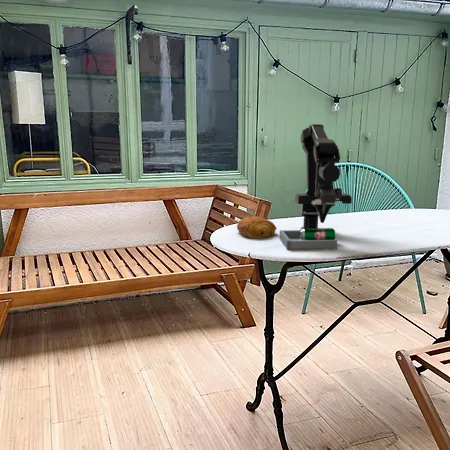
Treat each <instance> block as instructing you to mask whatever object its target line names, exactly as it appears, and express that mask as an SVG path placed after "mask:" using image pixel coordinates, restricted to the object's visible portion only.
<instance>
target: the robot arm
mask: <svg viewBox="0 0 450 450" xmlns="http://www.w3.org/2000/svg"><path fill="white" fill-rule="evenodd" d="M324 128H325V127H324V124H320V123H319V124H318V123H317V124H316V123H315V124H313V123H312V124H309V126H308V127H307V128H304V129H303V130H302V131H301V134H300V143H301V148H302V150H303V151H304V153H305V156H306V161H305V162H306V166H305V167H306V191H305V193H296V195H295V198H294V199H295V200H294V201H295V202H296V204H299V205H300V207H299V215H300V216H301V217H303V226H301V227H300V230H302V229H303V228H319V222H320V223H321V224H324V223H325V221H326V218H327V216H328V213H329V212H330V210H331V208H332V207H335V206H336V203H337V202H341V204H343V205H344V204H347V205H349V204H352V203H353V202H352V200H353V197H352V195H350V194H348V193H344V192H343V189H342V188H340V187H339V188H338V187H336V188H334V182H337V181H338V180H339V179H340V176H341V171H340V168H339V167H338V166H336V163H337V164H339V163H340V160H341V153H340V150H339V147H338V145H337V144H336V142H335V141H334V140H333V139H330V138H328V136H327V133H326V131H325V129H324Z"/></svg>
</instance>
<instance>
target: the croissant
mask: <svg viewBox="0 0 450 450" xmlns="http://www.w3.org/2000/svg"><path fill="white" fill-rule="evenodd" d="M236 228H237V231H238V232H239V233H241V234H242V236H245V237H248V238H250V239H251V238H252V239H264V238H268V237H273V236H274V235H275V233H276V230H277V226H276V225H275V223H274V222H272V221H270V220H269V219H267V218H263V217H260V216H256V215H253V216H246V217H244V218H242V219H240V220H239V221H238V223H237V225H236Z"/></svg>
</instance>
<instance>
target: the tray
mask: <svg viewBox="0 0 450 450" xmlns="http://www.w3.org/2000/svg"><path fill="white" fill-rule="evenodd" d="M300 230H301V229H292V230H291V229H290V230H289V229H288V230H286V229H285V230H284V229H283V230H279V238H278V239H279V240H280V241H281V242H282V244H283V246H284V247H285V249H286V251H295V250H296V251H298V250H299V251H303V250H308V251H309V250H313V251H314V250H338V239H335V240H300V238H299V233H300Z"/></svg>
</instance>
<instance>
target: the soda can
mask: <svg viewBox="0 0 450 450" xmlns="http://www.w3.org/2000/svg"><path fill="white" fill-rule="evenodd" d="M299 230H300V233H299V238H300V240H336V237H337V235H336V230H335V229H334V228H333V227H323V228H322V227H318V228H303V229H299Z"/></svg>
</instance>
